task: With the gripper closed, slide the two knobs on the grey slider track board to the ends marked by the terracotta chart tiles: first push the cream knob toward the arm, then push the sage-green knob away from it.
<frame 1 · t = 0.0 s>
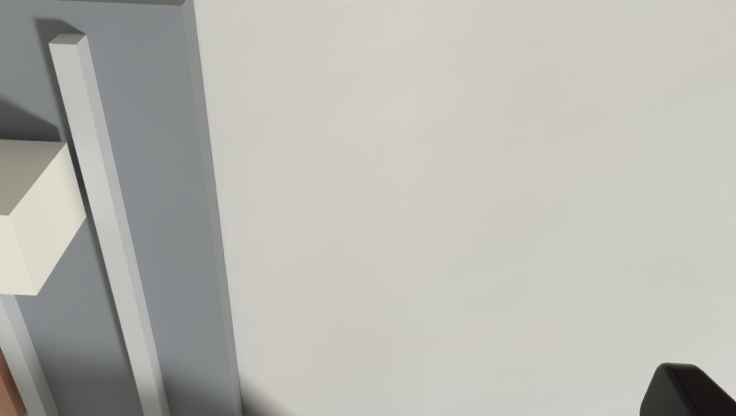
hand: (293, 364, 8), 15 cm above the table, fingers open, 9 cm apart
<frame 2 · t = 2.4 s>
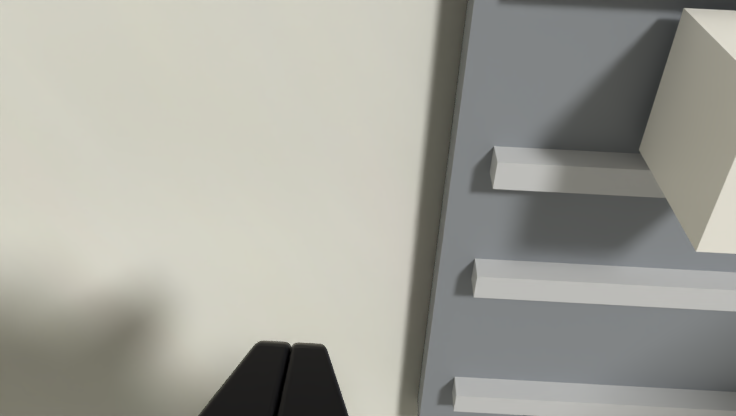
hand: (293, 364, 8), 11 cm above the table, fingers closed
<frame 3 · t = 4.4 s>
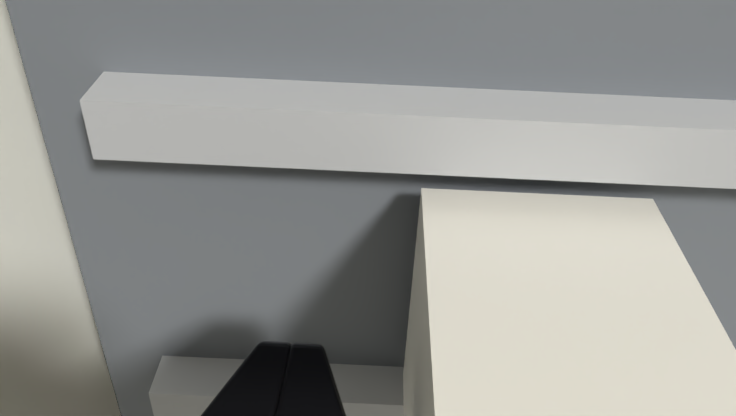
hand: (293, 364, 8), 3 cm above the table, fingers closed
cream slider: (538, 409, 8), point 4 cm above the table, slide at 0.6 cm, touching gripper
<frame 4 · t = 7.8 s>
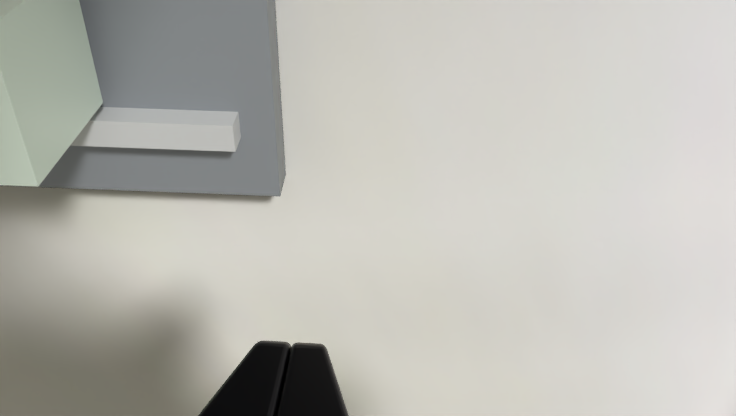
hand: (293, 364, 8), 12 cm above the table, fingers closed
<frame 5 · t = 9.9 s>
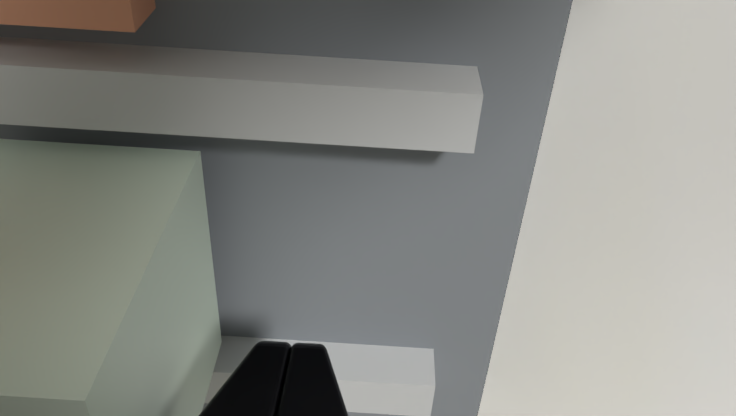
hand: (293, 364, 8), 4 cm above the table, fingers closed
sage slider: (53, 354, 8), point 4 cm above the table, slide at 0.0 cm, touching gripper
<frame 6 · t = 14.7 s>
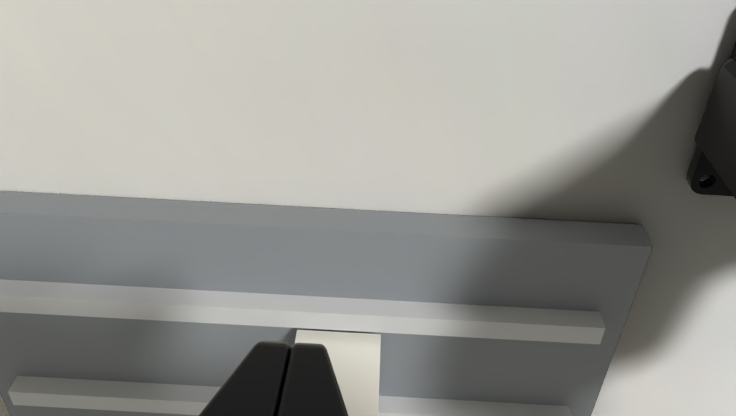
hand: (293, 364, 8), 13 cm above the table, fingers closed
cream slider: (334, 410, 24), point 4 cm above the table, slide at 7.9 cm
grey slider track board: (296, 395, 29), on the table
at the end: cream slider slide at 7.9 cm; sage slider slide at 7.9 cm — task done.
